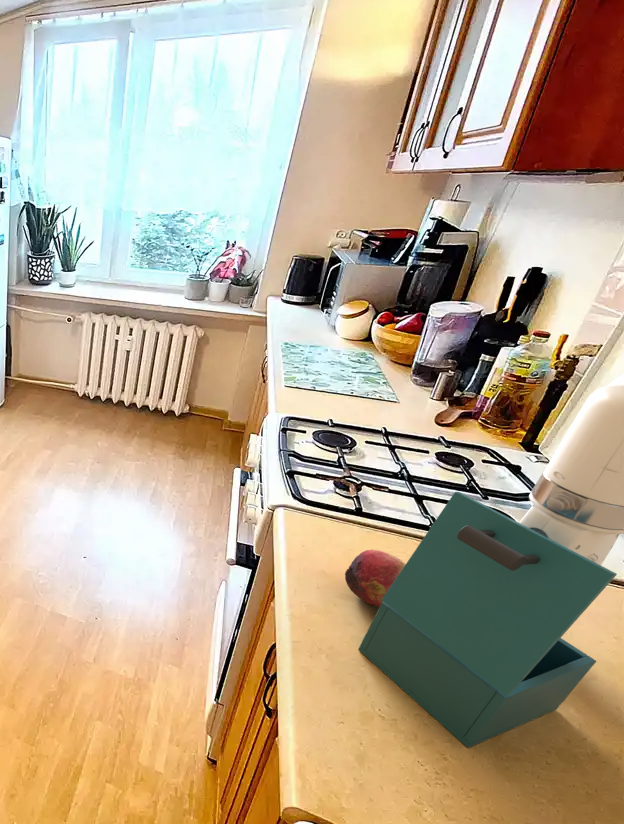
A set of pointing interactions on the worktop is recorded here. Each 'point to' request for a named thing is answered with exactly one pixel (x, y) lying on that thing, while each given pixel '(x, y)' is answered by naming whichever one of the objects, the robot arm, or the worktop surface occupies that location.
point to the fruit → (373, 575)
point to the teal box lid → (493, 590)
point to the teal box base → (468, 680)
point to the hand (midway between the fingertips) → (503, 621)
